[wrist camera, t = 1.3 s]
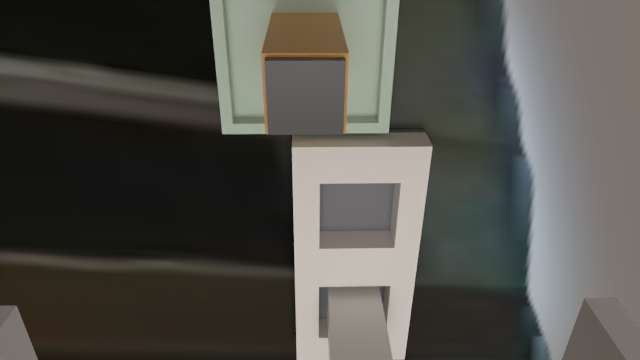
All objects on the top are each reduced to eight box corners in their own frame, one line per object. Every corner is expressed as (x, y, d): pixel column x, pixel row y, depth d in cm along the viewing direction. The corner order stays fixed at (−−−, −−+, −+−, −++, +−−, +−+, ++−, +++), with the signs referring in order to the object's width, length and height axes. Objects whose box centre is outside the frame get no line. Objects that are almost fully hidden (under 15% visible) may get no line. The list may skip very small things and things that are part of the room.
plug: (271, 12, 33) (260, 56, 25) (338, 13, 33) (349, 56, 25) (274, 77, 36) (264, 138, 27) (336, 77, 36) (346, 137, 27)
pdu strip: (292, 129, 38) (291, 147, 36) (423, 129, 39) (432, 146, 36) (297, 336, 49) (296, 361, 47) (399, 334, 50) (404, 359, 47)
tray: (209, -52, 32) (204, -49, 30) (398, -51, 32) (403, -48, 31) (225, 123, 38) (222, 134, 36) (385, 123, 38) (388, 133, 37)
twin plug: (327, 275, 45) (332, 368, 36) (376, 274, 45) (394, 366, 36) (326, 311, 47) (331, 407, 38) (373, 311, 47) (389, 406, 38)
